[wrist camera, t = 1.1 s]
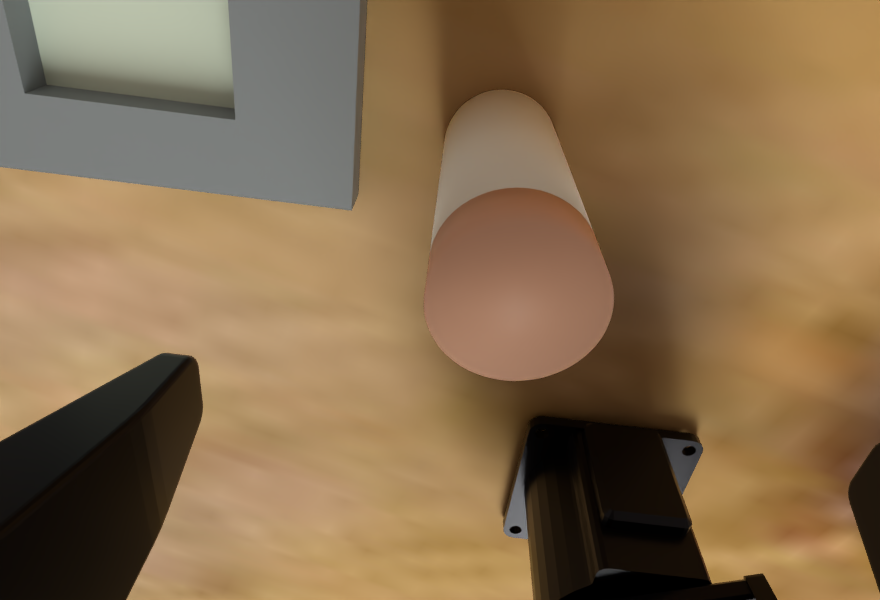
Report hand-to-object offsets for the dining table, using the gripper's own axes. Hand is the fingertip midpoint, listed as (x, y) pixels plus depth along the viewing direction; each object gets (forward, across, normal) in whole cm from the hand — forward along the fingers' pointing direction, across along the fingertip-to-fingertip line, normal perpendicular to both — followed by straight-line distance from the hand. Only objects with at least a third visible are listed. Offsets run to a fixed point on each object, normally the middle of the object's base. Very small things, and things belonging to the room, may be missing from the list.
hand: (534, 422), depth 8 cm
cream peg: (+11, 0, 0) cm, 11 cm away
